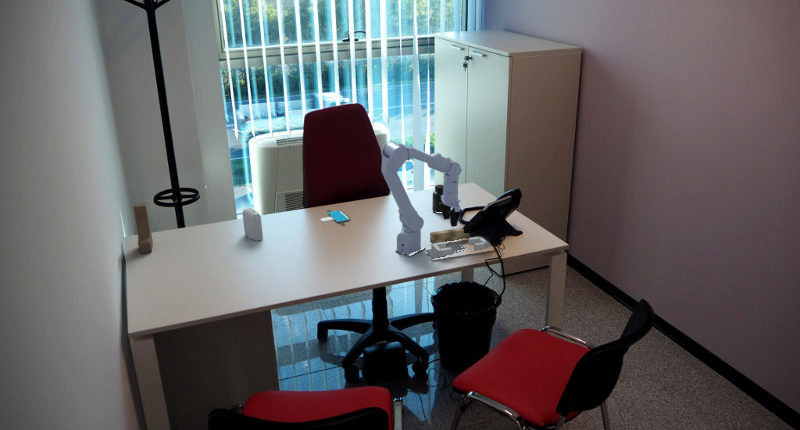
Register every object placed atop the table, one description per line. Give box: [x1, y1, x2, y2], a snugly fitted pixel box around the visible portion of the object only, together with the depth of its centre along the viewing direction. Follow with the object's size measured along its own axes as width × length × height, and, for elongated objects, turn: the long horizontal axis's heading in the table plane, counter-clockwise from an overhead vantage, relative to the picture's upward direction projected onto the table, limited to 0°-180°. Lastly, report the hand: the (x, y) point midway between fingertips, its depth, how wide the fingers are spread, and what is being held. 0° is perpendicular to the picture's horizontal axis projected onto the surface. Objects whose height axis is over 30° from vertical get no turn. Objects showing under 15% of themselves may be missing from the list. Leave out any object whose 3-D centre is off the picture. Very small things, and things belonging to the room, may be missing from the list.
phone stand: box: [320, 209, 351, 226], centre depth 281 cm, size 20×12×2 cm, turn 26°
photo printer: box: [242, 207, 264, 242], centre depth 261 cm, size 10×4×12 cm, turn 39°
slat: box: [429, 226, 470, 244], centre depth 256 cm, size 16×2×5 cm, turn 110°
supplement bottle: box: [431, 184, 444, 212], centre depth 286 cm, size 7×7×12 cm
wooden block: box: [132, 201, 154, 254], centre depth 250 cm, size 9×4×18 cm, turn 16°
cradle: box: [424, 235, 490, 259], centre depth 247 cm, size 26×8×4 cm, turn 109°
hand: (450, 222), depth 254 cm, fingers open, 7 cm apart
